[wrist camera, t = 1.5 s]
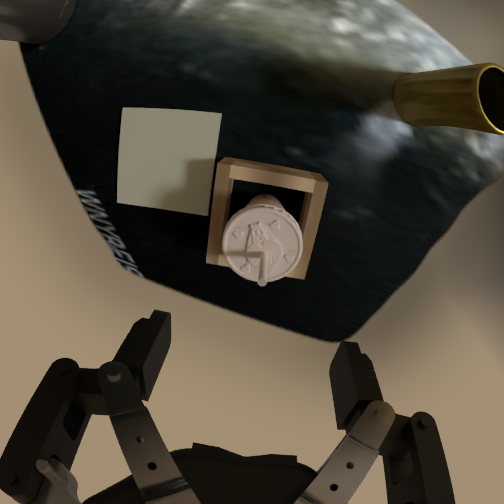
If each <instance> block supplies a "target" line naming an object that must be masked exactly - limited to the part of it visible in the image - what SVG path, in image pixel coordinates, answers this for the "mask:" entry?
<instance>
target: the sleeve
mask: <svg viewBox="0 0 504 504" xmlns="http://www.w3.org/2000/svg"><path fill="white" fill-rule="evenodd" d="M234 179H238V180H244V181H250V182H256V183H262V184H268V185H274V186H279V187H285V188H290V189H295V190H300V191H305V196H304V201H303V205H302V210H301V214H300V219H299V223H298V225H299V227H300V230H301V232H302V240H303V250H302V255H301V258H300V260H299V262H298V264H297V265H296V267H295V268H294V269H293V270H292V271H291V272H290V273H289V274H287V275H286V276H287V277H293V278H299V279H304V278H305V274H306V271H307V267H308V263H309V260H310V256H311V252H312V248H313V245H314V241H315V237H316V233H317V229H318V225H319V221H320V217H321V213H322V209H323V204H324V200H325V196H326V192H327V187H328V182H327V181H326V180H325V178H324V177H323V176H322V175H321V174H318V173H313V172H308V171H303V170H298V169H293V168H288V167H282V166H277V165H271V164H266V163H260V162H254V161H248V160H241V159H235V158H228V157H225V158H224V159H222V160H221V161H220V162H218V164H217V171H216V179H215V187H214V195H213V203H212V211H211V220H210V229H209V238H208V248H207V258H206V263H211V264H216V265H222V266H228V267H230V266H229V265H228V263H227V262H226V260H225V258H224V255H223V251H222V238H223V232H224V230H225V227H226V224H227V223H228V216H229V209H230V201H231V194H232V187H233V181H234Z"/></svg>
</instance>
